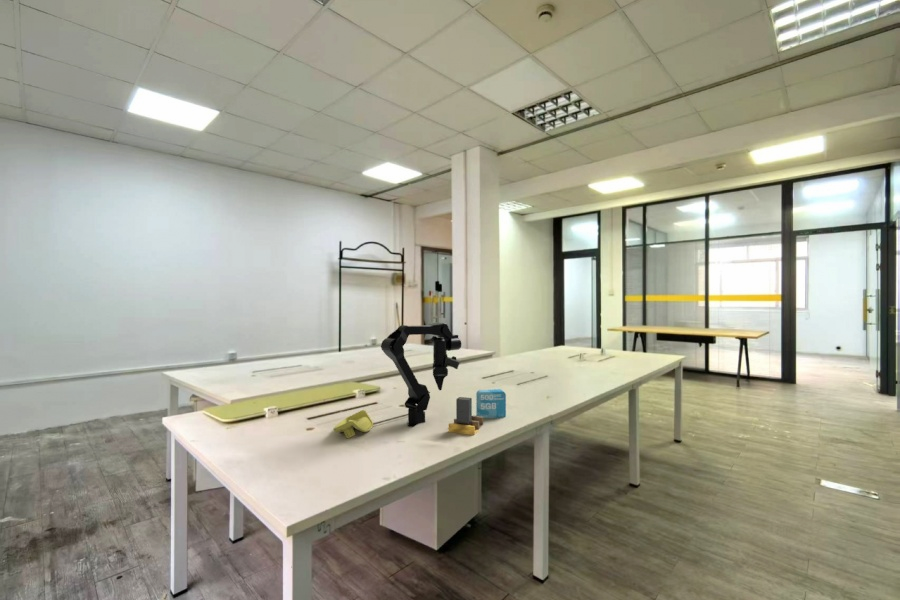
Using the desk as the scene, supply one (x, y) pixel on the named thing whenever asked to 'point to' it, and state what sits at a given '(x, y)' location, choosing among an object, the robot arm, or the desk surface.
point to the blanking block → (464, 411)
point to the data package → (491, 403)
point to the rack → (467, 426)
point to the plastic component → (355, 424)
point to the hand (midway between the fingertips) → (439, 387)
